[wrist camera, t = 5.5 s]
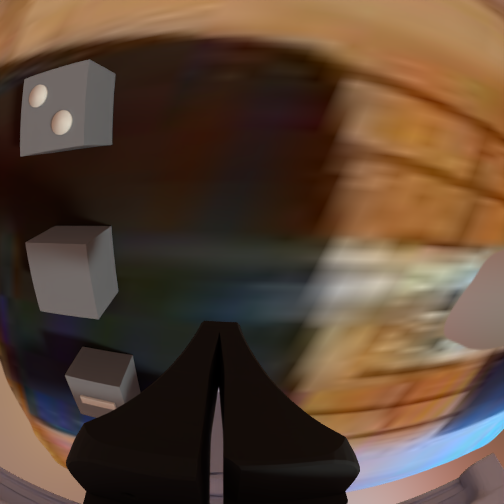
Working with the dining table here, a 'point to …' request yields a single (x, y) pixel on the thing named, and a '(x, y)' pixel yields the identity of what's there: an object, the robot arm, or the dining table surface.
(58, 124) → the dotted block
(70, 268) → the plain block
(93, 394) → the barred block
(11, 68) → the dining table surface
